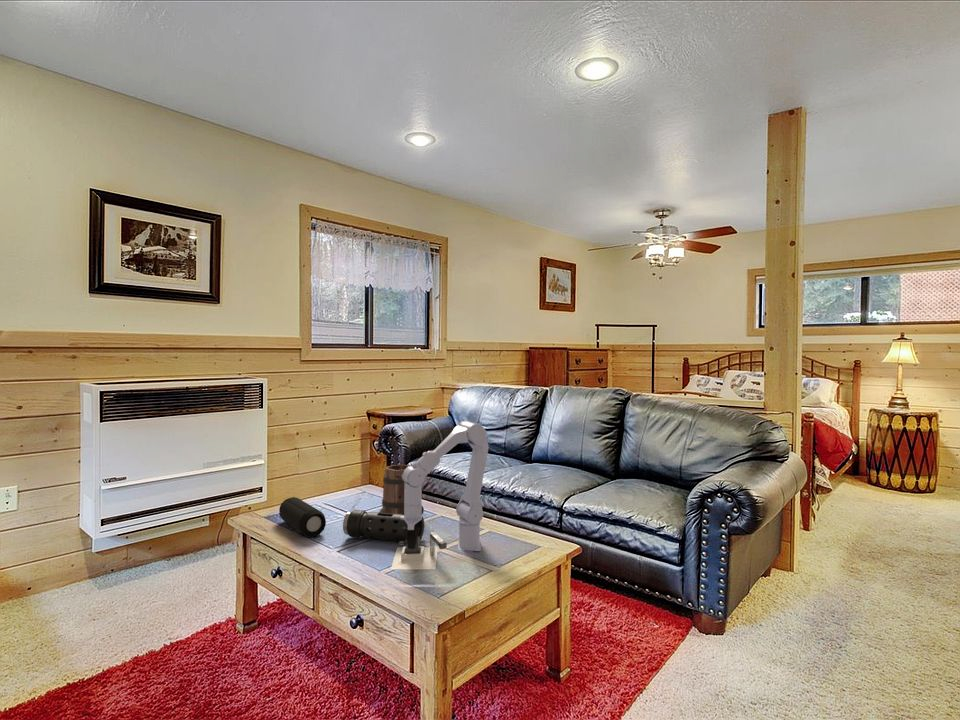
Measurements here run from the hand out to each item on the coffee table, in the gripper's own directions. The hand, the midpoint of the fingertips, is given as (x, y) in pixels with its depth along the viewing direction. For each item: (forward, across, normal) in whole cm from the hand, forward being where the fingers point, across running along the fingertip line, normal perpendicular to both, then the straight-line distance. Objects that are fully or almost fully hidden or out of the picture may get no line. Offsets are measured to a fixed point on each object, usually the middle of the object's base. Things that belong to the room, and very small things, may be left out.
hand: (412, 543), depth 174 cm
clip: (+4, +5, +8) cm, 10 cm away
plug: (+4, 0, -1) cm, 4 cm away
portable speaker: (+5, -29, -45) cm, 54 cm away
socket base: (+5, +1, +1) cm, 5 cm away
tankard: (+5, -43, -8) cm, 44 cm away
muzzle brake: (+5, -16, -12) cm, 21 cm away
